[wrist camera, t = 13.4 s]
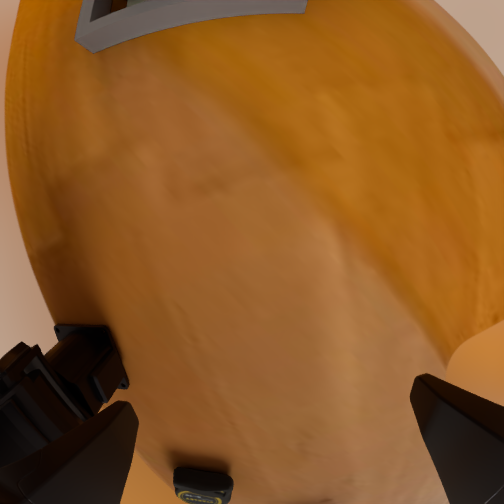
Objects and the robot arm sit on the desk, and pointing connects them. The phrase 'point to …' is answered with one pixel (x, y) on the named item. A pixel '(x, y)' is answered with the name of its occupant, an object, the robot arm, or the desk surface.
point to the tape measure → (202, 486)
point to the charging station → (162, 17)
